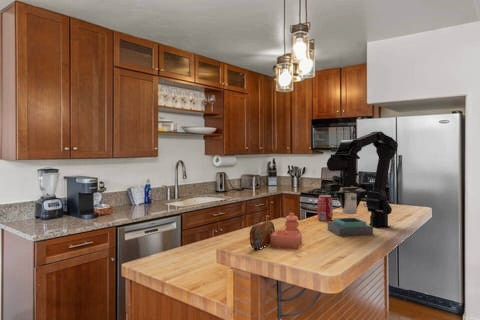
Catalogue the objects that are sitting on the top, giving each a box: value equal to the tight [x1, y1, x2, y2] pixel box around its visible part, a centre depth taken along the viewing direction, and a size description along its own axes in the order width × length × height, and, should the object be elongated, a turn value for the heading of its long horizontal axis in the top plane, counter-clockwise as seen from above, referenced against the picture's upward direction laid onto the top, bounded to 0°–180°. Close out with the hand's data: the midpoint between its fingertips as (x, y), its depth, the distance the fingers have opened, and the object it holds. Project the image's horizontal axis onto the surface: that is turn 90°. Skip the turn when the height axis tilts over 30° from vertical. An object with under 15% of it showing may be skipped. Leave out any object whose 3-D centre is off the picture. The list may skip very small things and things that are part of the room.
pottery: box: [270, 212, 303, 250], centre depth 124 cm, size 18×10×10 cm, turn 160°
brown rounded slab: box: [249, 220, 276, 250], centre depth 119 cm, size 15×3×8 cm, turn 148°
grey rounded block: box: [342, 192, 358, 215], centre depth 137 cm, size 6×7×8 cm
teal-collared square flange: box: [327, 217, 374, 237], centre depth 138 cm, size 14×12×5 cm
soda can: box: [317, 194, 334, 222], centre depth 164 cm, size 7×7×12 cm
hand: (349, 208), depth 138 cm, fingers closed on grey rounded block, 5 cm apart
